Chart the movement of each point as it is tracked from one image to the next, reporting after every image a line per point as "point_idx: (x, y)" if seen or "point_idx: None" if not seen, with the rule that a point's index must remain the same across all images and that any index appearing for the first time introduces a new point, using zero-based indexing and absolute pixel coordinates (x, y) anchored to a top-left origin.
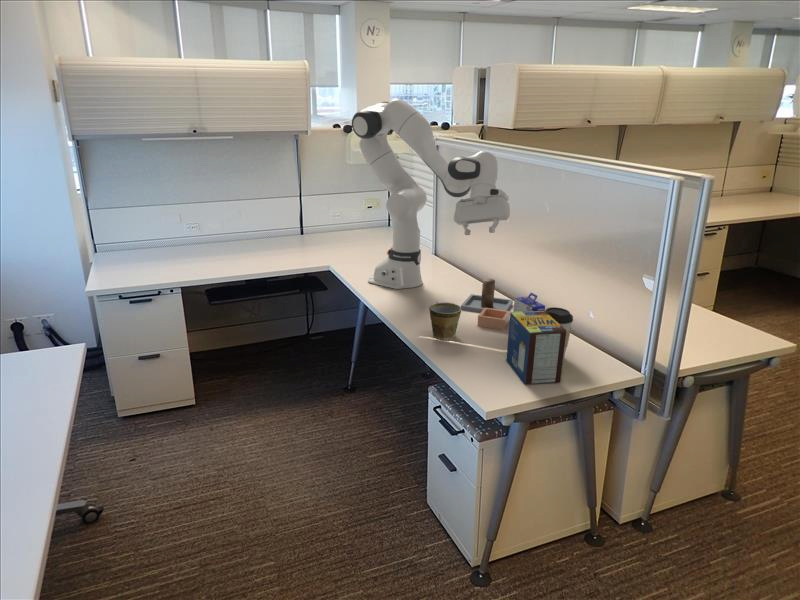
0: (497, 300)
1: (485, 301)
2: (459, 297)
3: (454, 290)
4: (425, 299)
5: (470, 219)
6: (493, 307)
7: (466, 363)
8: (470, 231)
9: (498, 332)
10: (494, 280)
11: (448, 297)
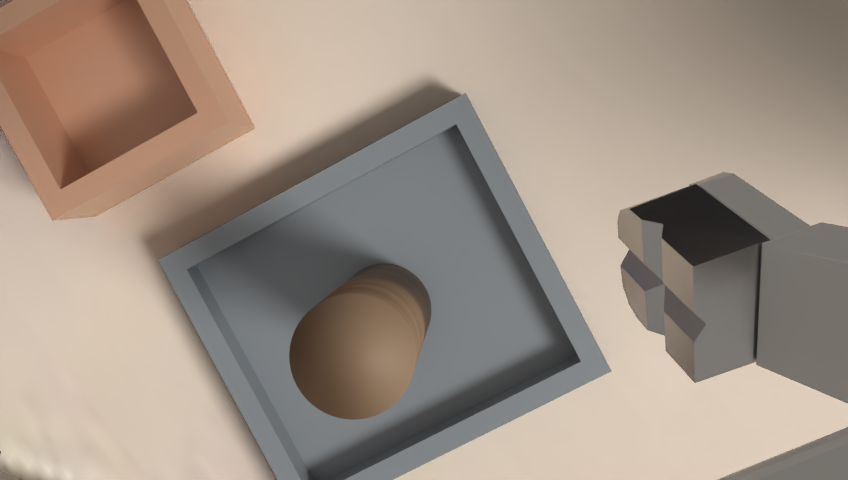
0: (397, 449)
1: (358, 273)
2: None
3: (843, 414)
4: (838, 55)
5: (824, 440)
6: None
7: None
8: (681, 366)
9: None
10: (316, 400)
11: None
